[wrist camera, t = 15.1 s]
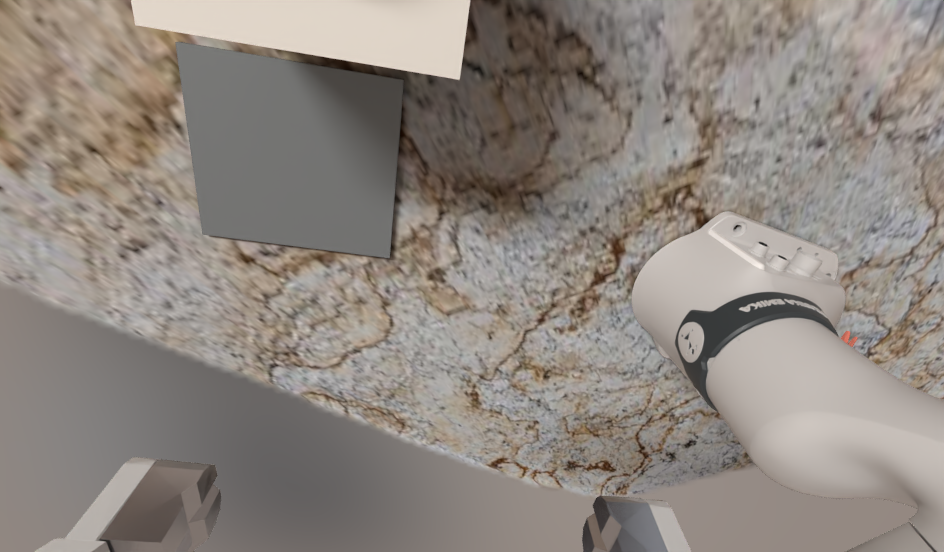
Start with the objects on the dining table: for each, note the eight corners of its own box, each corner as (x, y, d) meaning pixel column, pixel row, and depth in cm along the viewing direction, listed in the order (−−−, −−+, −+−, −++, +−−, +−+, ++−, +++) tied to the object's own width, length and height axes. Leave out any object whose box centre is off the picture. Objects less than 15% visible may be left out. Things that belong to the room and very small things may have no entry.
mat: (404, 79, 39) (403, 80, 39) (390, 255, 48) (389, 258, 47) (179, 41, 37) (175, 42, 37) (205, 232, 46) (202, 234, 45)
